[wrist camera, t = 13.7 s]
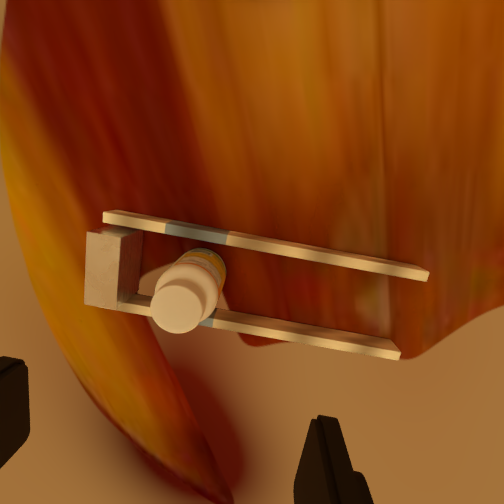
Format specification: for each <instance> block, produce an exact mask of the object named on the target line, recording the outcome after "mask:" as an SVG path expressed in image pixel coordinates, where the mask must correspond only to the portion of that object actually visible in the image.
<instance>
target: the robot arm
mask: <svg viewBox="0 0 504 504" xmlns="http://www.w3.org/2000/svg"><path fill="white" fill-rule="evenodd" d="M29 433H30V412H29V385H28V367H27V366H26V365H25V362H24V361H23V360H21V359H16V358H11V357H6V356H2V357H0V468H1V467H2V466H3V465H4V464H5V463H6V462H7V461H8V460H9V459H10V458H11V457H12V456H13V455H14V453H15V452H16V451H17V450H18V449H19V448H20V447H21V446H22V445H23V444H24V443H25V441H26V440H27V438H28V436H29ZM294 504H374V503H373V500H372V497H371V494H370V491H369V488H368V485H367V482H366V480H365V477H364V476H363V474H362V473H360V472H357V471H353V468H352V465H351V461H350V458H349V455H348V452H347V448H346V445H345V442H344V438H343V435H342V431H341V428H340V425H339V422H338V419H337V418H333V417H328V416H323V415H318V417H317V419H312V420H311V423H310V426H309V430H308V433H307V437H306V441H305V444H304V448H303V451H302V455H301V459H300V462H299V466H298V470H297V473H296V477H295V481H294Z"/></svg>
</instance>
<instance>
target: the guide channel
mask: <svg viewBox="0 0 504 504" xmlns="http://www.w3.org/2000/svg"><path fill="white" fill-rule="evenodd" d="M103 222H104V223H110V224H113V225H109V226H106V227H102V228H98V229H95V230H91V231H87V241H86V268H85V294H84V304H86V305H92V306H98V307H101V308H106V309H112V310H118V311H123V312H129V313H135V314H140V315H146V316H152V315H151V311H150V304H151V300H152V298H153V297H151V296H146V295H140V294H135V293H136V292H137V291H138V290H139V279H140V268H141V257H142V245H143V234H144V230H148V231H153V232H159V233H164V234H170V235H175V236H180V237H186V238H191V239H197V240H202V241H208V242H213V243H219V244H224V245H229V246H235V247H240V248H246V249H251V250H257V251H262V252H268V253H273V254H278V255H284V256H289V257H295V258H300V259H306V260H311V261H316V262H322V263H327V264H333V265H338V266H344V267H349V268H355V269H360V270H365V271H371V272H376V273H382V274H387V275H393V276H398V277H404V278H409V279H414V280H420V281H425V282H426V281H427V279H428V276H429V273H430V272H428V271H427V270H425V269H423V268H421V267H419V266H417V265H413V264H408V263H403V262H397V261H392V260H386V259H381V258H376V257H370V256H365V255H359V254H354V253H349V252H343V251H338V250H332V249H327V248H321V247H316V246H311V245H305V244H300V243H294V242H289V241H284V240H278V239H273V238H267V237H262V236H257V235H251V234H246V233H240V232H235V231H229V230H224V229H219V228H213V227H208V226H202V225H197V224H192V223H186V222H181V221H175V220H170V219H165V218H159V217H154V216H148V215H143V214H137V213H132V212H127V211H121V210H112V211H106V212H103ZM198 325H202V326H207V327H213V328H219V329H225V330H230V331H235V332H241V333H247V334H252V335H258V336H263V337H269V338H275V339H280V340H286V341H291V342H297V343H303V344H308V345H314V346H319V347H325V348H331V349H336V350H342V351H348V352H354V353H359V354H364V355H370V356H376V357H382V358H387V359H392V360H399V357H400V354H401V352H400V350H399V349H398V348H397V347H396V346H395V344H394V343H393V342H392V341H391V340H390V339H385V338H380V337H374V336H369V335H363V334H357V333H352V332H346V331H341V330H335V329H330V328H324V327H318V326H313V325H307V324H302V323H296V322H291V321H285V320H280V319H274V318H268V317H263V316H257V315H252V314H246V313H241V312H235V311H229V310H223V309H218V308H215V309H214V311H213V312H212V313H211V315H210V316H209V317H207V318H206V319H205V320H203V321H201V322H199V324H198Z"/></svg>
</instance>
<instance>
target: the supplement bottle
mask: <svg viewBox="0 0 504 504" xmlns="http://www.w3.org/2000/svg"><path fill="white" fill-rule="evenodd" d="M225 278H226V268H225V264H224V262H223V260H222V259H221V257H220V256H219V255H218V254H216V253H215V252H213V251H211V250H209V249H205V248H195V249H192V250H189V251H187V252H186V253H185V254H183V255H182V256H181V257H180V258H179V259H178V260H177V261H176V262H175V263H174V264H173V265H172V266H170V267H169V268H168V269H167V270H166V271H165V272H164V273H163V274H162V276H161V277H160V278H159V280H158V282H157V284H156V287H155V295H154V296H153V298H152V300H151V304H150V311H151V315H152V317H153V319H154V321H155V322H156V323H157V325H158V326H159V327H161V328H162V329H164V330H166V331H168V332H171V333H185V332H188V331H190V330H192V329H194V328H195V327H196V326H197V325H198V324H199V322H201V321H203V320H205V319H206V318H207V317H209V316H210V315H211V313H212V312H213V311H214V309H215V307H216V305H217V302H218V299H219V296H220V294H221V291H222V288H223V285H224V282H225Z"/></svg>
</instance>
